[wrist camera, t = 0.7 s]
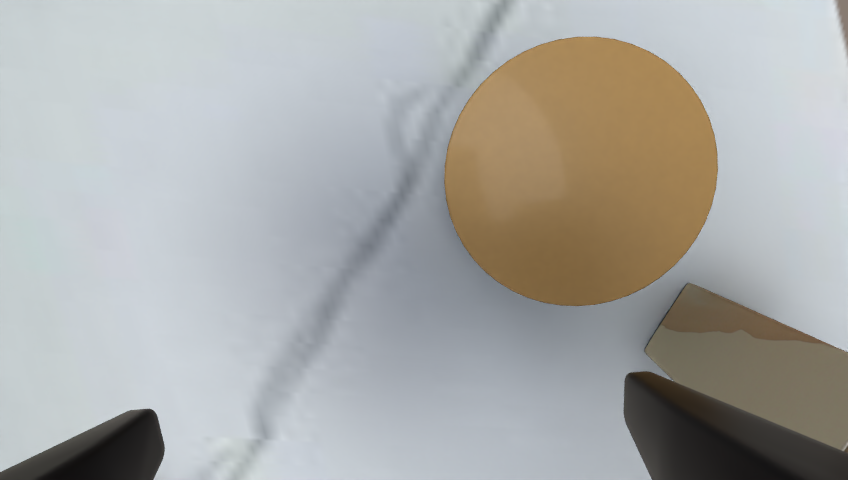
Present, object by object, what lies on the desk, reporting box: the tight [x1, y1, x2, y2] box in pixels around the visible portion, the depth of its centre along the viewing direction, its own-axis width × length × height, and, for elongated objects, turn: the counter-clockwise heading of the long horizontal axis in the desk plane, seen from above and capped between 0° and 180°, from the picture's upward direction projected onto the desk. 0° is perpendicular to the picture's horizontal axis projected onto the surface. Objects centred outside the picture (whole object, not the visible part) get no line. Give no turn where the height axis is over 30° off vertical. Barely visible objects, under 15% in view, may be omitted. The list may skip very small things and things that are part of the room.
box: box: [645, 283, 848, 453], centre depth 17 cm, size 5×4×11 cm
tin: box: [444, 37, 718, 306], centre depth 19 cm, size 10×10×4 cm
